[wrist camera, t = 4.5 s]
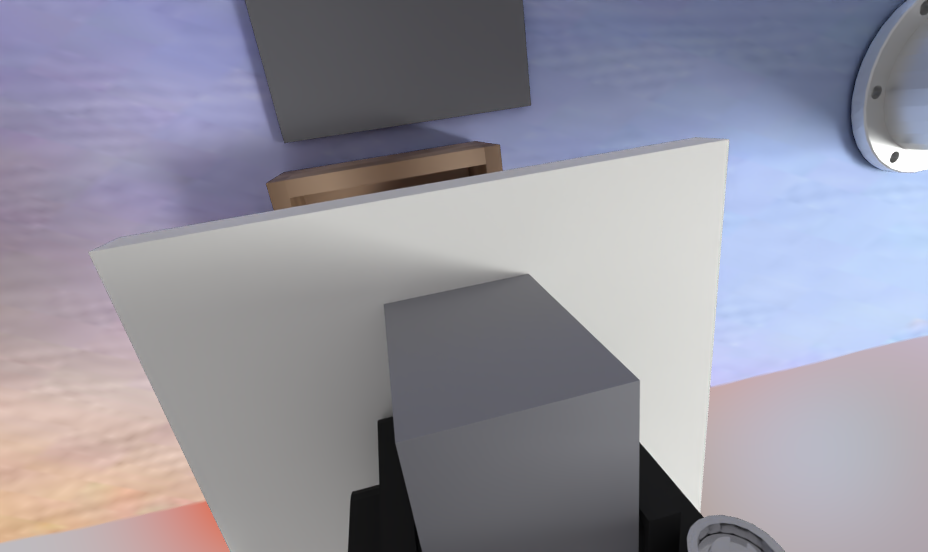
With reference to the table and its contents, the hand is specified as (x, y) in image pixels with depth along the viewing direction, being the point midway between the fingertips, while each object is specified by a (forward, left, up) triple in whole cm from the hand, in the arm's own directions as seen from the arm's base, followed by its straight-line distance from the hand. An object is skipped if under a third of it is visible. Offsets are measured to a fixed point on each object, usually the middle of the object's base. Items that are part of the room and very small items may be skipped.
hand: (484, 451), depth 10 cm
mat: (-2, -13, -19) cm, 23 cm away
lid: (0, 0, -1) cm, 1 cm away
